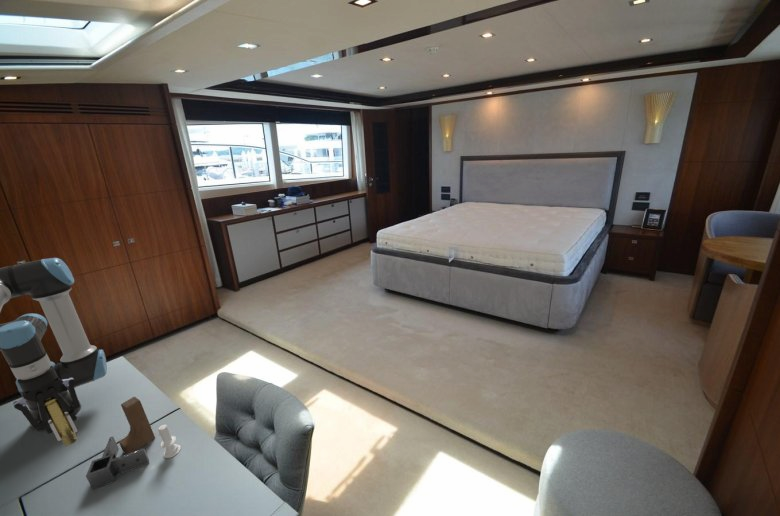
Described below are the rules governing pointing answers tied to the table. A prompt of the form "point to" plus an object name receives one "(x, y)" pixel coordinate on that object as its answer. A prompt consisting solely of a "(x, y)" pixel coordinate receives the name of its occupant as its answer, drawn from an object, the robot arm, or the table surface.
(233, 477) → the table surface
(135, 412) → the wooden block
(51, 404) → the hinge pin
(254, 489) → the table surface
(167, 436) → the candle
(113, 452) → the square tube bracket
